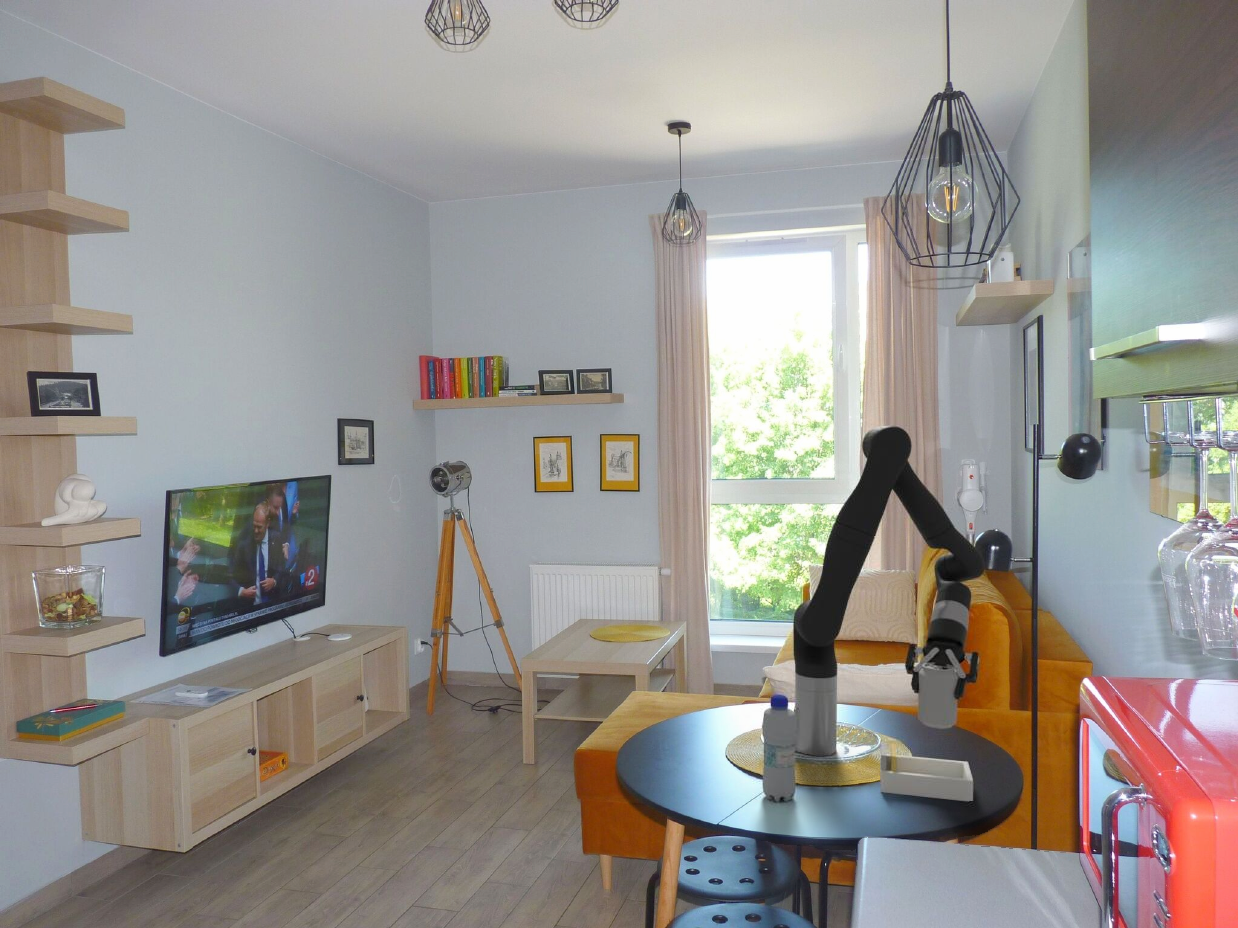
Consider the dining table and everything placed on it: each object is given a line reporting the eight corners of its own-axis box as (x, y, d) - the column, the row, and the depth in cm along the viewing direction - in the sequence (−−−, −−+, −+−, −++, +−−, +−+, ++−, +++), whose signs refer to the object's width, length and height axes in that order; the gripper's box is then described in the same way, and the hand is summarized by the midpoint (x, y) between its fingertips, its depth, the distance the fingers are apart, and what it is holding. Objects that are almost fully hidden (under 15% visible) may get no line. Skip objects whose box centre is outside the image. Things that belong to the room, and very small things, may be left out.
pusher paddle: (891, 783, 179) (891, 756, 179) (890, 769, 186) (891, 743, 186) (896, 784, 179) (896, 756, 178) (895, 770, 186) (896, 743, 186)
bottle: (775, 806, 170) (776, 701, 170) (754, 794, 176) (755, 692, 176) (803, 800, 174) (804, 697, 173) (782, 788, 180) (782, 688, 179)
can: (959, 731, 179) (961, 670, 179) (920, 728, 180) (921, 668, 180) (953, 719, 186) (954, 661, 186) (915, 717, 188) (916, 659, 187)
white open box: (880, 791, 178) (881, 756, 178) (880, 772, 189) (880, 739, 188) (972, 801, 173) (973, 765, 173) (967, 781, 184) (967, 746, 184)
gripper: (911, 613, 193) (897, 679, 183) (982, 620, 186) (972, 689, 176) (916, 633, 197) (902, 698, 188) (986, 641, 190) (976, 709, 181)
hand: (936, 694), depth 182 cm, fingers closed on can, 7 cm apart
